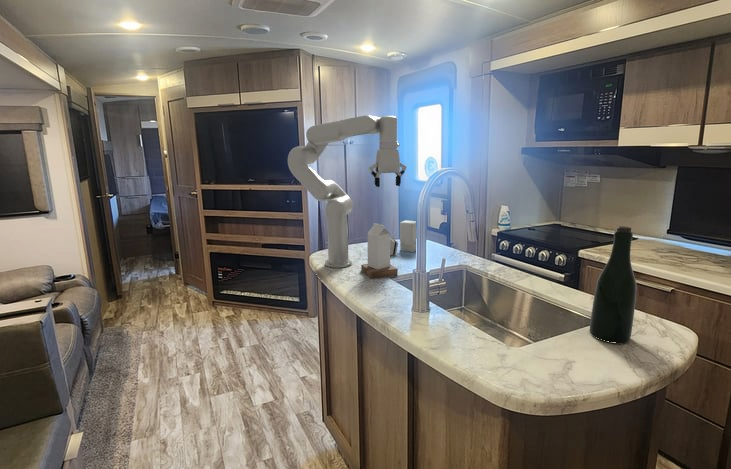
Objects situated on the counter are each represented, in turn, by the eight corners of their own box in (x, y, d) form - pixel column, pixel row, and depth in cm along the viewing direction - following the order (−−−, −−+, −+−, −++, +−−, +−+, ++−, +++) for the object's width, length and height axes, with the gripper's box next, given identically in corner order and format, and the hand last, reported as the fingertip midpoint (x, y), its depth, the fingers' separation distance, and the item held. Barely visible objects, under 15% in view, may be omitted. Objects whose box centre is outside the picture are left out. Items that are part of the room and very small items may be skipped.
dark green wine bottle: (632, 335, 119) (649, 226, 112) (627, 349, 111) (644, 232, 104) (593, 325, 126) (606, 221, 118) (585, 337, 118) (598, 227, 111)
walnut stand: (361, 271, 181) (361, 264, 180) (385, 267, 185) (385, 261, 185) (372, 279, 170) (372, 272, 169) (397, 275, 174) (397, 268, 174)
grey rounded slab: (368, 250, 215) (373, 232, 215) (375, 252, 218) (379, 234, 218) (388, 257, 202) (394, 238, 202) (395, 258, 205) (400, 239, 205)
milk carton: (377, 270, 172) (377, 226, 168) (367, 266, 178) (367, 224, 173) (390, 266, 177) (390, 224, 172) (379, 263, 182) (379, 221, 178)
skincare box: (418, 250, 215) (419, 221, 212) (412, 252, 210) (413, 223, 207) (405, 247, 220) (406, 219, 217) (399, 250, 215) (399, 221, 212)
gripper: (402, 146, 179) (402, 184, 183) (366, 146, 173) (366, 186, 177) (410, 146, 172) (409, 186, 176) (372, 146, 166) (372, 188, 170)
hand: (387, 186), depth 176 cm, fingers open, 9 cm apart
